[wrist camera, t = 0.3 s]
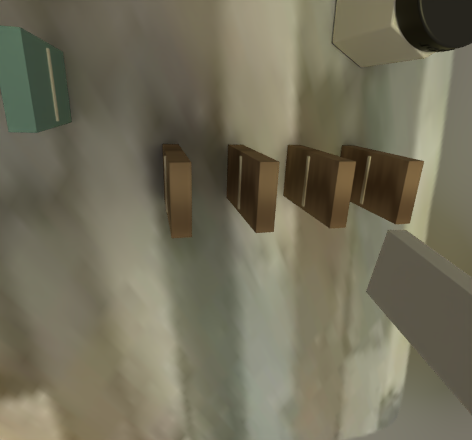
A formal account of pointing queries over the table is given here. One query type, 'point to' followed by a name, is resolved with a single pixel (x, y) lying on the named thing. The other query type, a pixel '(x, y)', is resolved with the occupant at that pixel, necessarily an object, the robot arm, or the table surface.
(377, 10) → the jar
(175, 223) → the domino
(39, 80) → the domino teal
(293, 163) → the domino
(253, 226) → the domino
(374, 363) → the table surface
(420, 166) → the domino
